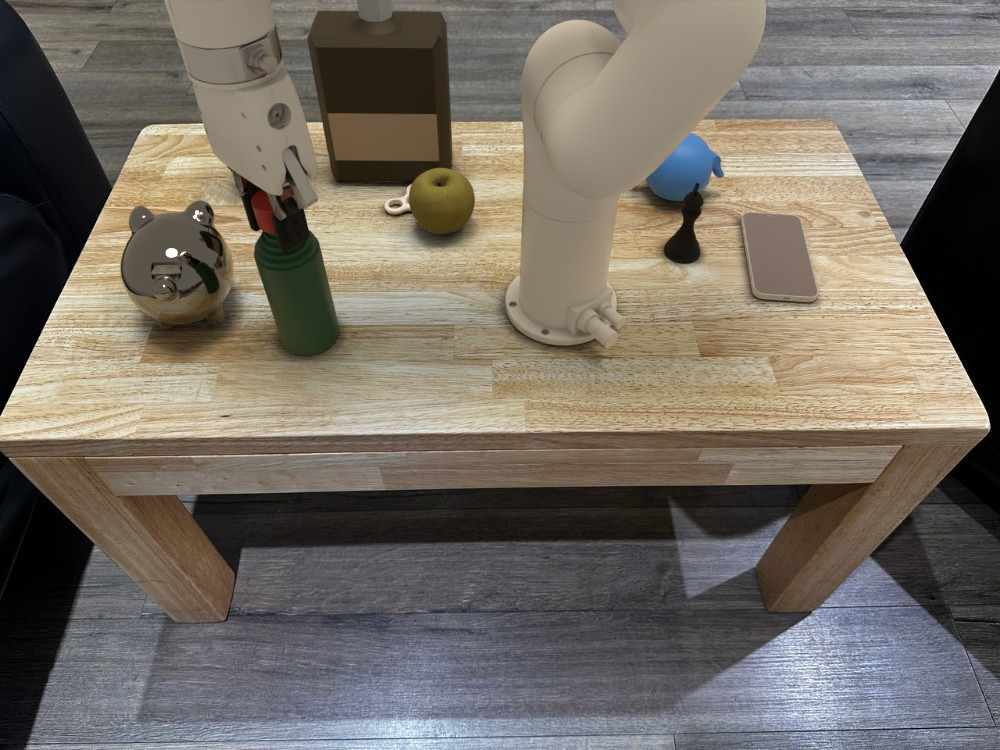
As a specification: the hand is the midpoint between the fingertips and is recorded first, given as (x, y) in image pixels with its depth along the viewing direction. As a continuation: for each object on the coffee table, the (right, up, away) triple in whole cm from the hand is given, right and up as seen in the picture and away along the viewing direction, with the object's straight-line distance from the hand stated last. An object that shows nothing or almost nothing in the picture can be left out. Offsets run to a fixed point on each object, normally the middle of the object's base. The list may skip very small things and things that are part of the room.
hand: (280, 232), depth 75 cm
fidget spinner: (+9, +8, +26) cm, 29 cm away
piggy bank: (-13, -6, +14) cm, 20 cm away
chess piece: (+43, +1, +21) cm, 48 cm away
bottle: (+7, +14, +32) cm, 35 cm away
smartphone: (+55, 0, +20) cm, 58 cm away
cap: (0, +2, -3) cm, 4 cm away
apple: (+14, +5, +23) cm, 28 cm away
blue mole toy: (+44, +11, +29) cm, 54 cm away
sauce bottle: (0, -9, +11) cm, 14 cm away
